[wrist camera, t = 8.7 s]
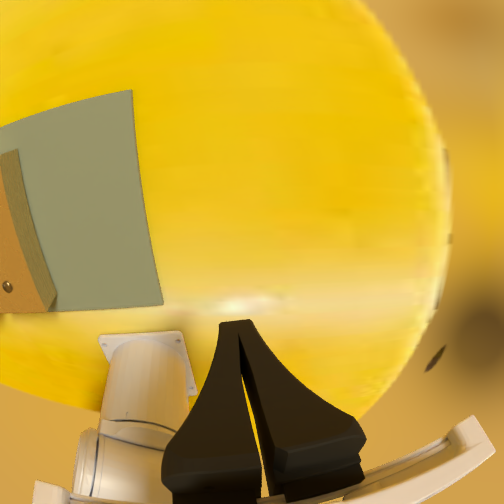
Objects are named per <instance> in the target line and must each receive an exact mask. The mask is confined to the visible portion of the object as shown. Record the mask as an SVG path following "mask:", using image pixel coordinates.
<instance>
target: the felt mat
mask: <svg viewBox="0 0 504 504" xmlns="http://www.w3.org/2000/svg"><path fill="white" fill-rule="evenodd" d="M15 149H17V150H18V156H19V162H20V168H21V173H22V178H23V183H24V188H25V193H26V197H27V201H28V205H29V209H30V213H31V217H32V221H33V224H34V228H35V231H36V235H37V238H38V241H39V244H40V248H41V251H42V254H43V257H44V260H45V263H46V265H47V268H48V271H49V274H50V276H51V279H52V282H53V284H54V287H55V289H56V292H57V294H56V296H55V298H54V300H53V302H52V303H51V305H50V307H49V309H48V311H47V312H52V311H76V310H96V309H112V308H128V307H141V306H154V305H163V304H164V301H163V297H162V292H161V288H160V283H159V279H158V274H157V270H156V265H155V260H154V255H153V250H152V245H151V240H150V234H149V229H148V223H147V217H146V211H145V205H144V198H143V192H142V185H141V177H140V170H139V162H138V153H137V144H136V134H135V123H134V111H133V96H132V90H126V91H121V92H116V93H111V94H106V95H102V96H97V97H93V98H89V99H85V100H81V101H77V102H74V103H70V104H66V105H63V106H60V107H56V108H53V109H50V110H47V111H44V112H41V113H38V114H35V115H32V116H29V117H26V118H23V119H21V120H18V121H15V122H13V123H10V124H8V125H5V126H3V127H1V128H0V155H1V154H3V153H6V152H9V151H12V150H15Z"/></svg>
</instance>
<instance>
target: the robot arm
mask: <svg viewBox="0 0 504 504" xmlns="http://www.w3.org/2000/svg"><path fill="white" fill-rule="evenodd" d="M177 339H179V341H178V340H177ZM98 342H99V344H100V346H101V348H102V350H103V352H104V354H105V356H106V358H107V360H108V362H109V364H110V368H109V372H108V377H107V382H106V387H105V392H104V397H103V402H102V408H101V413H100V420H99V426H98V429H97V430H96V429H93V428H88V429H87V430H85V431H83V432H81V435H80V439H79V443H78V448H77V453H76V459H75V466H74V473H73V482H72V493H70V492H69V491H68V490H66V489H65V488H63V487H60V486H58V485H54V484H51V483H47V482H42V481H40V480H36V481H35V487H34V494H33V502H32V504H318V503H322V502H325V501H329V500H333V499H336V498H339V497H342V496H344V497H343V500H342V501H333V502H329V503H325V504H419V503H421V502H423V501H425V500H427V499H428V498H430V497H432V496H434V495H435V494H437V493H439V492H440V491H442V490H444V489H445V488H447V487H449V486H450V485H452V484H453V483H455V482H456V481H458V480H459V479H461V478H463V477H464V476H465V475H467V474H468V473H470V472H471V471H472V470H474V469H475V468H476V467H478V466H479V465H480V464H481V463H483V462H484V461H485V460H487V458H489V457H490V456H491V455H492V454H494V453H495V448H494V447H493V445H492V444H491V442H490V440H489V439H488V437H487V435H486V434H485V432H484V430H483V429H482V427H481V426H480V424H479V422H478V421H477V419H476V418H475V416H474V415H471V416H469V417H467V418H466V419H464V420H462V421H461V422H459V423H458V424H456V425H455V426H453V427H452V428H451V429H450V431H448V433H447V434H446V435H445V436H443V437H441V438H439V439H437V440H435V441H433V442H432V443H430V444H428V445H426V446H424V447H422V448H420V449H418V450H415V451H413V452H411V453H409V454H407V455H405V456H402V457H400V458H398V459H396V460H393V461H391V462H388V463H386V464H384V465H381V466H378V467H376V468H373V469H371V470H368V471H365V472H363V471H362V468H361V466H360V462H361V459H360V456H359V454H358V453H359V452H360V450H361V449H362V447H363V446H364V444H365V442H366V440H367V439H366V436H365V434H364V432H363V430H362V428H361V427H360V425H359V423H358V422H357V421H356V419H355V418H354V417H353V416H351V415H349V414H347V413H345V412H343V411H341V410H339V409H338V408H336V407H334V406H333V405H331V404H329V403H328V402H326V401H325V400H323V399H322V398H320V397H319V396H318V395H316V394H315V393H314V392H312V391H311V390H310V389H308V388H307V387H306V386H305V385H303V384H302V383H301V382H300V381H299V380H298V379H297V378H296V377H294V376H293V375H292V374H291V373H290V372H289V371H288V370H287V369H286V368H285V366H284V365H283V364H282V363H281V362H280V361H279V360H278V359H277V357H276V356H275V355H274V354H273V352H272V351H271V350H270V349H269V347H268V346H267V345H266V343H265V342H264V340H263V339H262V337H261V336H260V334H259V333H258V331H257V329H256V328H255V326H254V324H253V322H252V320H250V319H246V320H238V321H229V322H221V323H220V324H219V335H218V341H217V346H216V350H215V354H214V358H213V361H212V364H211V367H210V370H209V373H208V376H207V378H206V381H205V383H204V386H203V388H202V390H201V392H200V394H199V396H198V398H197V400H196V402H195V404H194V406H193V408H192V410H191V411H190V413H189V399H188V396H194V395H197V393H198V392H197V387H196V383H195V380H194V376H193V372H192V369H191V365H190V361H189V357H188V353H187V349H186V345H185V341H184V337H183V334H182V332H180V331H164V332H149V333H132V334H110V335H100V336H99V338H98ZM104 343H105V344H104ZM241 374H242V376H241ZM242 377H243V381H244V384H245V388H246V391H247V395H248V398H249V401H250V405H251V408H252V412H253V415H254V419H255V424H256V429H257V434H258V439H259V444H260V449H261V455H262V460H263V465H264V470H265V475H266V481H267V486H268V491H269V497H264V498H261V487H262V484H261V483H262V467H261V461H260V456H259V452H258V448H257V444H256V441H255V437H254V433H253V429H252V425H251V420H250V416H249V412H248V407H247V403H246V398H245V393H244V389H243V384H242ZM345 495H346V496H345Z"/></svg>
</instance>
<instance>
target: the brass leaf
mask: <svg viewBox="0 0 504 504" xmlns="http://www.w3.org/2000/svg"><path fill="white" fill-rule="evenodd" d="M56 294H57V292H56V289H55V287H54V284H53V282H52V279H51V276H50V274H49V271H48V268H47V265H46V263H45V260H44V257H43V254H42V251H41V248H40V244H39V241H38V238H37V235H36V231H35V228H34V224H33V221H32V217H31V213H30V209H29V205H28V201H27V197H26V193H25V188H24V183H23V178H22V173H21V168H20V162H19V156H18V150H17V149H15V150H12V151H9V152H6V153H3V154H1V155H0V313H34V312H47V311H48V309H49V307H50V305H51V303H52V302H53V300H54V298H55V296H56Z"/></svg>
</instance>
